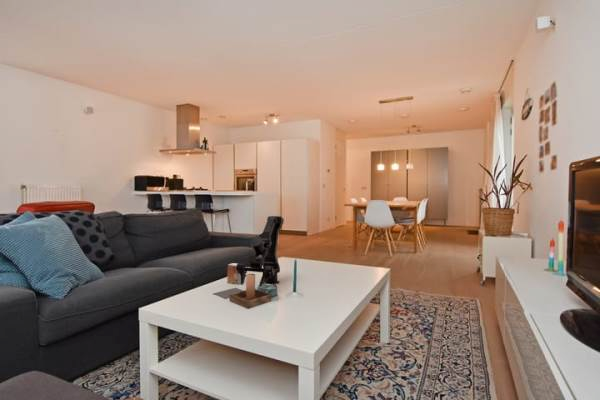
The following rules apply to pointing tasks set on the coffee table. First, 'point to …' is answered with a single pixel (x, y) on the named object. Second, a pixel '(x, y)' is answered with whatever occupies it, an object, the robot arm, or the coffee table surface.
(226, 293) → the mat
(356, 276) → the coffee table surface
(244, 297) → the crate
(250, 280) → the tan cylinder
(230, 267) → the small box
